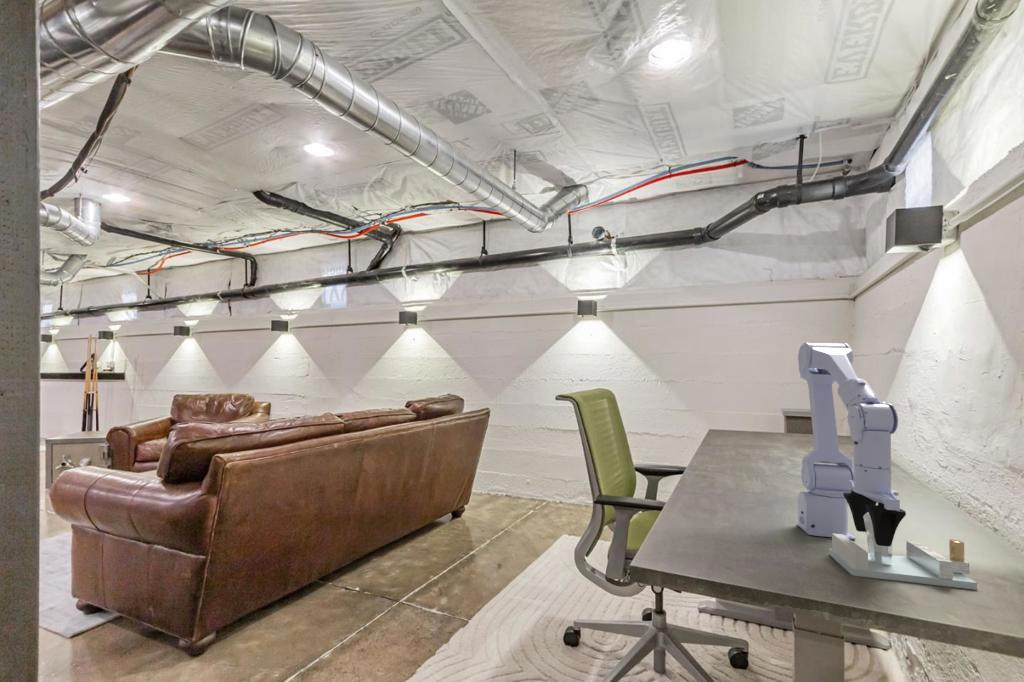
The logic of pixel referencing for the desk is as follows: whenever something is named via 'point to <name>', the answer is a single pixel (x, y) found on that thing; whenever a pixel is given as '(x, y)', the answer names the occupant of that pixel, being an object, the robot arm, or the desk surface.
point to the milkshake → (876, 552)
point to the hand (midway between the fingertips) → (872, 538)
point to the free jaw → (939, 559)
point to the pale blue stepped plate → (889, 566)
